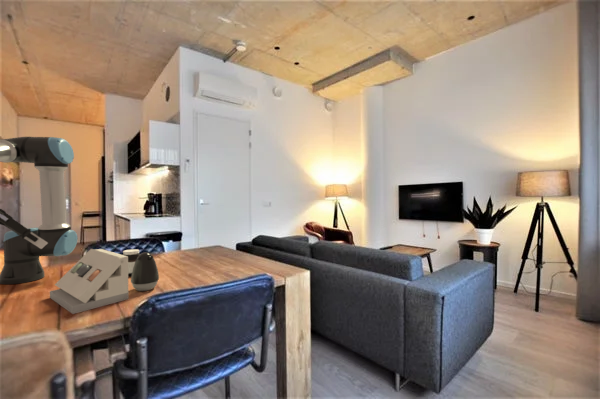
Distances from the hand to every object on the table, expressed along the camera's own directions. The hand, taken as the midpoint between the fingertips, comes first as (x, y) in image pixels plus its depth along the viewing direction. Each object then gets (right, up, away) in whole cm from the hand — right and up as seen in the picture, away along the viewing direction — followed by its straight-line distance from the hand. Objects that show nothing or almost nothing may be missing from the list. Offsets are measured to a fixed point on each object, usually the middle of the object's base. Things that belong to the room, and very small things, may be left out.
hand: (44, 245), depth 106 cm
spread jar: (+8, -20, +36) cm, 42 cm away
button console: (+14, -21, +5) cm, 25 cm away
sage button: (+6, -13, +9) cm, 17 cm away
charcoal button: (+12, -12, +3) cm, 17 cm away
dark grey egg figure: (+29, -21, +15) cm, 38 cm away
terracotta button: (+20, -13, -1) cm, 24 cm away
